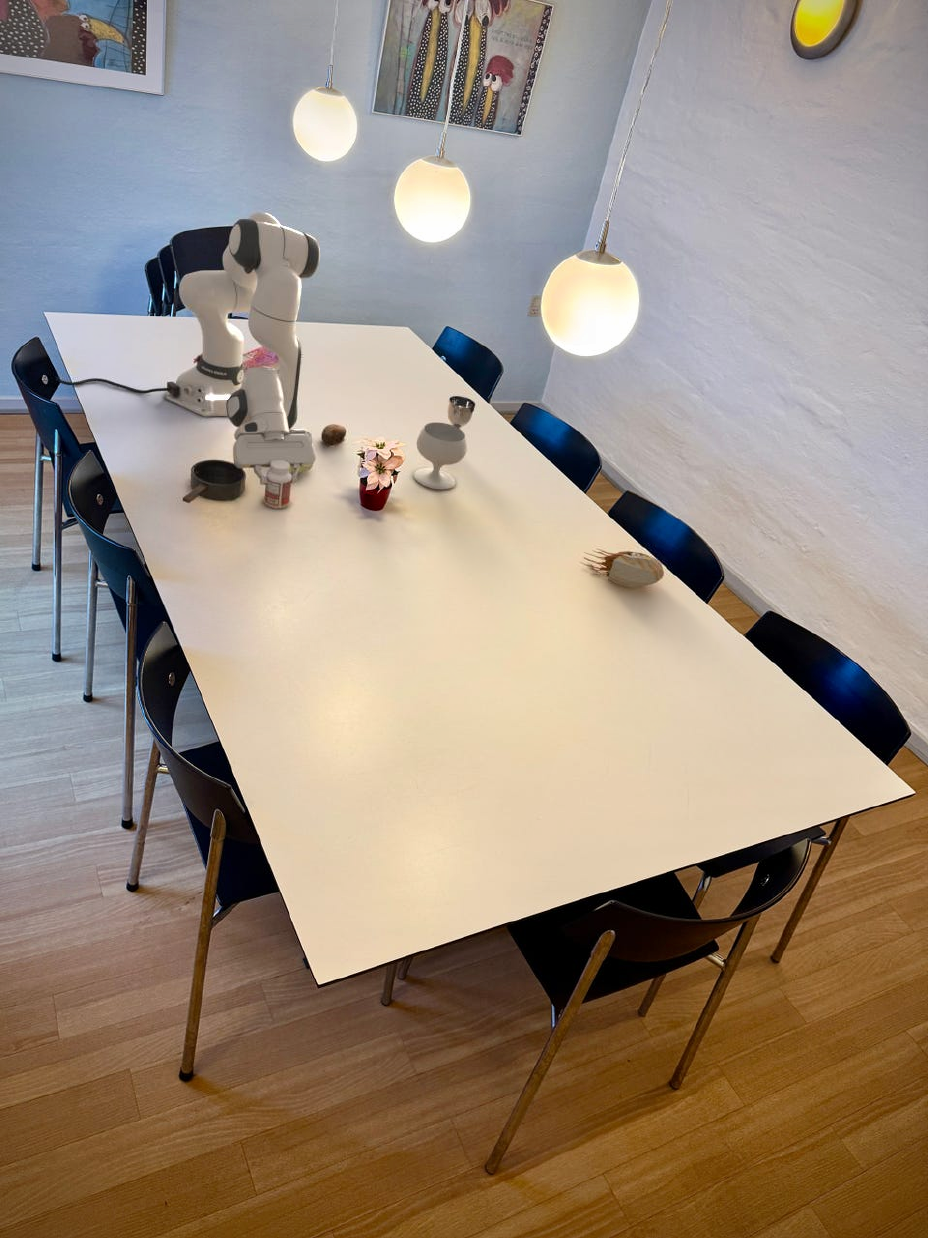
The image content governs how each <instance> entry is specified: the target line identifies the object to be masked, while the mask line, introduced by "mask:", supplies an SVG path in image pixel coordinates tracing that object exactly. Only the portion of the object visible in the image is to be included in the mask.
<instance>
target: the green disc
mask: <svg viewBox="0 0 928 1238" xmlns="http://www.w3.org/2000/svg"><path fill="white" fill-rule="evenodd" d="M313 466H314V463H313V464H312V465H310V466H300V469H299V472H298V473H304V472H307V471H309V470H311V469H312V468H313ZM294 471H295V470H292V466H290V470H289V472H290V473H294Z"/></svg>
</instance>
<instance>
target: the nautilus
mask: <svg viewBox="0 0 928 1238" xmlns="http://www.w3.org/2000/svg"><path fill="white" fill-rule="evenodd" d="M597 550H598V551H595V550H591V551H592V552H594V553H597V554H600V555H603V556H597V555H594V554H591V553H588V552H583V553H584V554H586V555H590V556H593V557H596V558H597V559H601V561H602V560H603V561H602V562H599V561H596V560H592V559H589V558H587V557H585V556H583V559H584V560H586V561H588V562H591V563H594V564H596V565H599V566H600V567H598V566H594V565H592V564H586V563H583V562H581V561H579V563H581V564H583V565H584V566H587V567H590V568H591V570H592V571H595V572H596V573H597V574H593V575H595V576H596V575H597V576H600V575H602V576H605V578H606V577H607V581H610V582H613V583H616V584H617V585H621V586H624V587H628V588H633V589H634V588H643V587H647V586H651V585H654V584H657V582H659V581H660V580H662V579H663V577H664V576H665V571H664V568H663V563H662V562H661V561H660V560H658V558H656V557H654V556H650V555H648V554H645V553H643V552H638V551H630V550H626V551H625V550H624V551H619V552H615V553H613V552H607V551H605V550H603V549H599V548H597Z"/></svg>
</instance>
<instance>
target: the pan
mask: <svg viewBox="0 0 928 1238" xmlns="http://www.w3.org/2000/svg"><path fill="white" fill-rule="evenodd" d="M246 478H247V473H246V470H245V469H244V468H237V467H236V466H235V465H234V462H231V461H229V460H224V459H205V460H200V461H198V462H196V463H194V465H192V466H191V468H190V488H191V491H192V490H194V489H195V488H196V487H198V486H199V485H200V484H201V483H202V484H205V485H208V489H207V490H206V491H204V492H203V493H202V494H201V495H199V496H198V497H201V498H204V499H206V500H209V501H215V502H216V501H217V502H227V501H233V500H236V499H238V498H240V497H241V496H243V494H244V493H245V490H246V482H247V481H246V480H247V479H246Z"/></svg>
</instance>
